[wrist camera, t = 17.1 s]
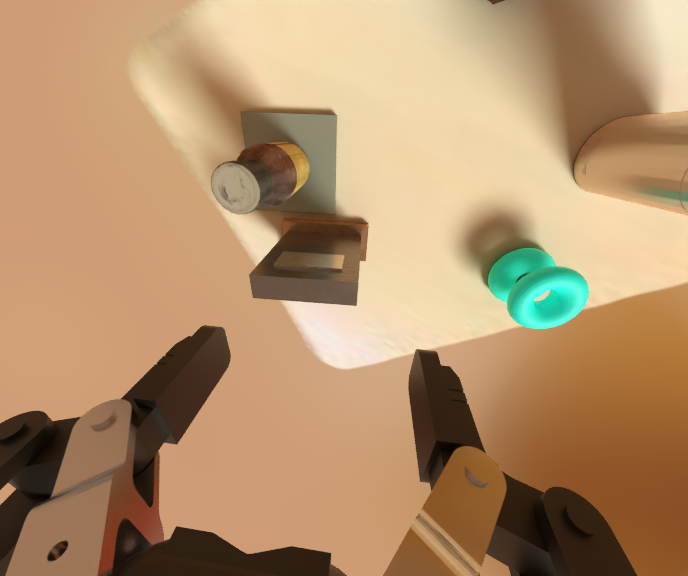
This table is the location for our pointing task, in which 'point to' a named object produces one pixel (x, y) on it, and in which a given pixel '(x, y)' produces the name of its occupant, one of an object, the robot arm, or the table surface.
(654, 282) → the table surface
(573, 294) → the donuts
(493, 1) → the beer bottle
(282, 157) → the sauce bottle
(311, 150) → the mat
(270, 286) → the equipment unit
